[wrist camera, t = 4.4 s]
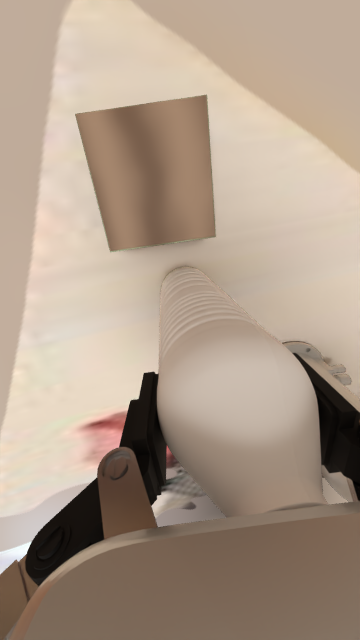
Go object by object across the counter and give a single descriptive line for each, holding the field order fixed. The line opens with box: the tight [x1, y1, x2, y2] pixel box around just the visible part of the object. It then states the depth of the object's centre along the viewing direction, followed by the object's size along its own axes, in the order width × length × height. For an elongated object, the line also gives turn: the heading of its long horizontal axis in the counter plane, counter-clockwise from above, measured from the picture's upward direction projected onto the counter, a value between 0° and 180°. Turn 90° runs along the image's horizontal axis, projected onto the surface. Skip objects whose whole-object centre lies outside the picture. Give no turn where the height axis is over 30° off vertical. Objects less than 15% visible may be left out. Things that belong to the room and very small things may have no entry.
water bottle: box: [157, 267, 329, 518], centre depth 16 cm, size 9×6×25 cm
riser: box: [75, 95, 216, 252], centre depth 23 cm, size 11×11×8 cm
